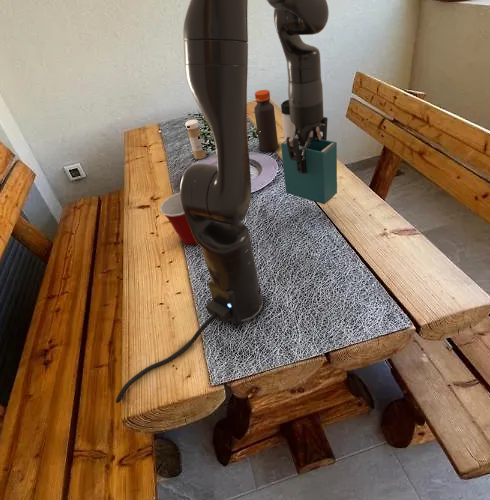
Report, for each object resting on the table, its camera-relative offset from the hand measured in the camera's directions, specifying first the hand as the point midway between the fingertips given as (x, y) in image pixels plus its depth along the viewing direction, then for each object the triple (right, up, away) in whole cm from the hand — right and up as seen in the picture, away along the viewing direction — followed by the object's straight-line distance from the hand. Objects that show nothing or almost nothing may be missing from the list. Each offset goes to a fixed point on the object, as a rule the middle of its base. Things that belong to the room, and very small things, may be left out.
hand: (309, 166), depth 97 cm
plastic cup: (-31, -18, +8) cm, 37 cm away
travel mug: (0, +10, +35) cm, 36 cm away
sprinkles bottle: (-34, +13, +47) cm, 59 cm away
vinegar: (-9, +16, +44) cm, 48 cm away
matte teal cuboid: (-4, +1, +4) cm, 6 cm away
